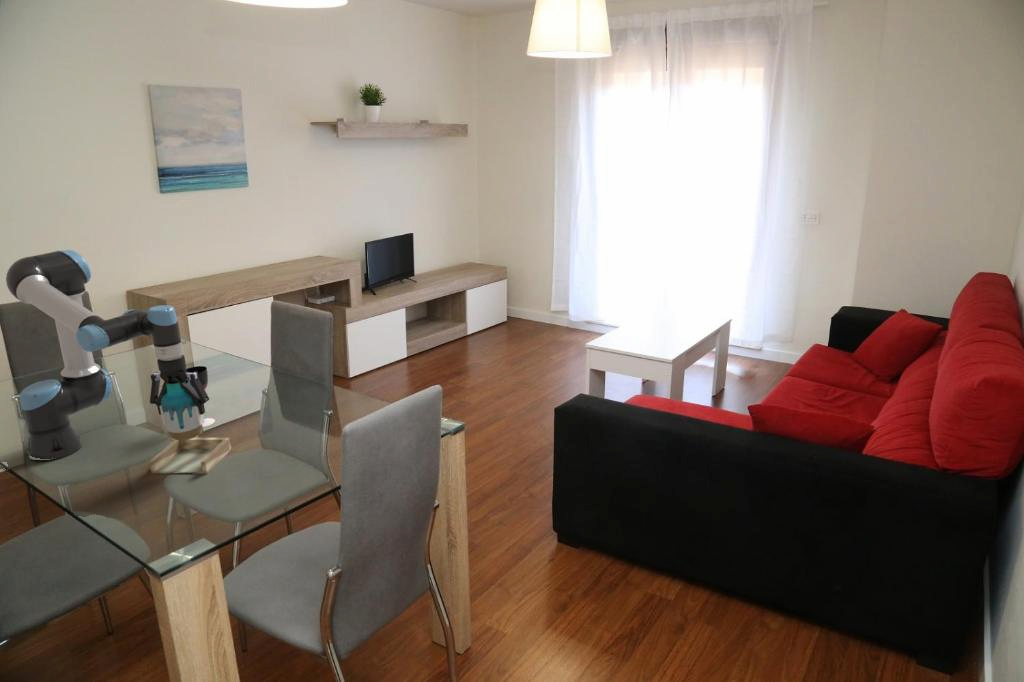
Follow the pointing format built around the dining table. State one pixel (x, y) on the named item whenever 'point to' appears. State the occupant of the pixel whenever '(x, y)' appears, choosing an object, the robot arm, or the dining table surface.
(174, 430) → the vase
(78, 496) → the dining table surface
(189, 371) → the wineglass
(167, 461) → the rest
